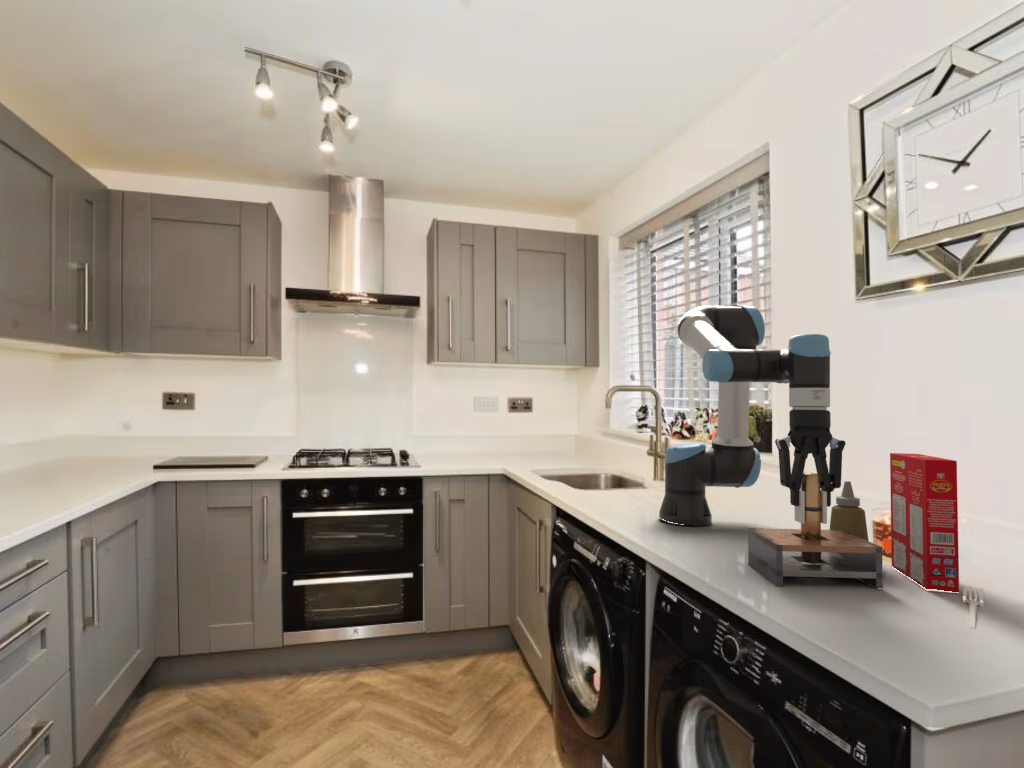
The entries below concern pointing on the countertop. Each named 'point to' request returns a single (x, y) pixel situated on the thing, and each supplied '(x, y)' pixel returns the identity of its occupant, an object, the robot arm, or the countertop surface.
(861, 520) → the squeeze bottle
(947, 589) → the food packaging
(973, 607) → the fork
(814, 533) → the wooden peg
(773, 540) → the frame
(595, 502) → the countertop surface
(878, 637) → the countertop surface
